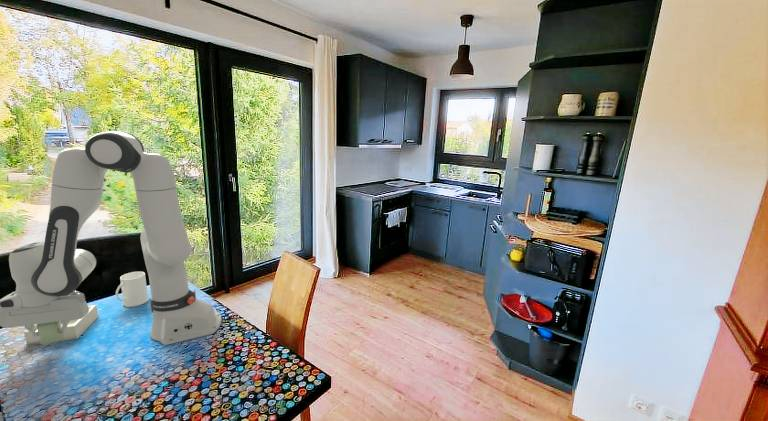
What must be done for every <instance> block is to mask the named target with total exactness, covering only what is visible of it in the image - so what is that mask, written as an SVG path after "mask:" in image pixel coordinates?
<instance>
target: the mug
mask: <svg viewBox="0 0 768 421" xmlns="http://www.w3.org/2000/svg"><path fill="white" fill-rule="evenodd" d="M119 280H120V284H119V285H118V286H117V288H116V290H115V298H116V299H117V300H118V301H119V302H123V303H122V305H123V307H127V308H128V307H129V308H131V307H133V308H134V307H138V306H141V305H143V304H146V303H147V302H148V301H149V300H150V298H149V293H148V287H147V279H146V273H145V272H144V271H131V272H128V273H124V274H123V275H121V276H120V277H119ZM120 289H121V293H122V298H120V297H119V291H120Z"/></svg>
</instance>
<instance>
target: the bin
mask: <svg viewBox="0 0 768 421" xmlns="http://www.w3.org/2000/svg"><path fill="white" fill-rule="evenodd" d="M88 308H89V312H88V313H87V314H86V315H85V316H84V317H83V318H82V319H75V320H70V321H69V323H68V325H67V327H68V330H67V331H66V332H65V333H63V335H64V337H63V338H62V339H60V340H59V341H58V342H62V341H63V342H64V341H70V340H77V339H79V337H81V335H82V334H84V332H86V330H87V329H88V328H89V327H90V326H91V325H92V324H93V323H94V322H95V321H96V320H97V319H98V318H99V312H98V306H97V305H96V304H91V305H88ZM62 325H63V324H61V326H62ZM35 326H36V327H37V324H35ZM23 334H24V338H25V343H26V346H31V345H39V344H41V341H40V337H39V336H35V337H33V336H32V332H30V331H28V330H27V329H25V330H24V331H23ZM41 345H42V344H41Z"/></svg>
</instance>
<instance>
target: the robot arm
mask: <svg viewBox="0 0 768 421" xmlns="http://www.w3.org/2000/svg"><path fill="white" fill-rule="evenodd" d="M108 170H110V171H117V172H119V173H124V174H125V173H126V174H128V173H129V174H130V175H131V177H132V180H133V185H134V190H135V196H136V202H137V208H138V213H139V216H140V218H141V222H142V225H143V229H142V231H141V233H140V244H141V250H142V254H143V259H144V264H145V267H146V271H147V275H148V280H149V287H150V288H149V289H150V298H149V300H150V301H149V306H150V309H151V313H152V321H151V322H152V323H151V328H150V329H151V330H150V333H149V337H150V338H151V339H152V340H153V341H157V342H160V343H161V344H162V345H163V346H167V345H172V344H177V343H180V342H185V341H188V340H192V339H197V338H200V337H201V338H202V337H206V336H209V335H210V336H211V335H213V334H214V333H215V332H216V331H217V330H218V329H219V328H220V326H221V324H222V315H221V313H220V312H218V311H216V312H215V310H214V308H213V305H212V304H211V303H209V302H206V301H204V300H201V299H199V298H196V297H197V296H196V289H194V290H193V291H192V290H191V289H189V280H188V279H189V278H188V270H187V268H186V265H185V261H186V260H187V259H189V257H190V255H191V253H192V245H191V243H190V241H189V237H188V234H187V233H188V232H187V229H186V226H185V222H184V218H183V215H182V212H181V210H180V203H179V195H178V190H177V182H176V177H175V174H174V170H173V167H172V165H171V162H170V160H169V159H168V158H167V157H166V156H163V155H162V154H158V153H147V152H145V147H144V145H143V143H142V141H141V140H140V139H139V138H138V137H136V136H134V135H133V134H132V133H128V132H125V131H124V132H123V131H117V130H109V131H104V132H103V131H102V132H98V133H96V134H94V135H92V136H91V137H90V138H88V140H87V141H86V143H85V147H84V148H82V147H70V148H65V149H62V150H61V151H60V152H59V153H58V154H57V157H56V160H55V163H54V167H53V170H52V177H51V186H50V189H51V190H50V207H49V214H48V221H47V226H46V232H45V239H44V241H39V242H32V243H28V244H25V245H21V246H19V247H17V248H15V249H13V250H12V251H11V252H10V253H9V256H8V265H9V269H10V270H9V271H10V275H11V278H12V280H13V281H14V282H15V286H16V287H15V291H12V292H11V293H9V294H7V295H5V296H3V297H2V298H0V327H1V328H3V329H9V328H15V327H16V328H17V327H24V329H25V330H28V331H30V332H32V336H33V337H35V336H39V334H38V330H37V327H36V326H35V324H43V323H51V322H59V321H60V323H61V324H63V325H62V326H61V327H60V328H58V331H59V333H65V332H66V331H67V330H68V327H67V325H68V323H69V321H70V320H75V319H82V318H83V317H84V316H85V315H86V314H87V313H88V312H89V308H88V306H89V305H88V303H87V301H86V296H85V293H83V292H80V291H78V290H77V289H78V288H79V286H80V285H81V284H82V282H83V281H84V280H85V279H86V278H88V276H89V275H90V274H91V273H92V271H94V269H96V266H97V258H96V257H95V255H94V254H93V253H92V252H91V251H90V250H86V249H83V248H77V244H78V237H79V234H80V232H81V229H82V227H83V225H84V224H85V223H86V221H87V220H88V219H89V218H90V217H91V216H92V215H93V214H94V213H95V212H96V211H97V210H98V209H99V206H100V203H101V201H102V199H103V194H104V182H105V175H106V173H107V171H108Z"/></svg>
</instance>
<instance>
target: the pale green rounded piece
mask: <svg viewBox="0 0 768 421" xmlns="http://www.w3.org/2000/svg"><path fill="white" fill-rule="evenodd" d="M60 327H61V323H60V321H59V322H51V323H43V324H37V330H38V334H39V337H40V341H41V345H50V344H53V343H56V342H60V341H59V340H60V339H62V338H63V337H64V335H63V333H59V331H58V328H60Z"/></svg>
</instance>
